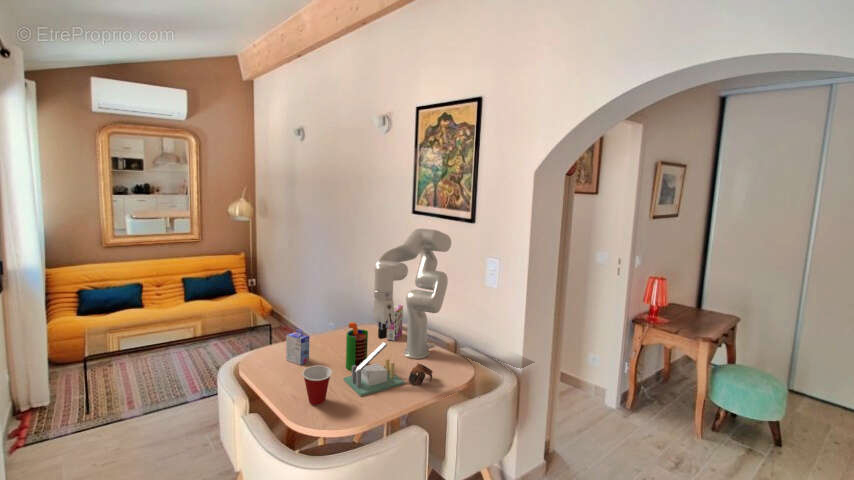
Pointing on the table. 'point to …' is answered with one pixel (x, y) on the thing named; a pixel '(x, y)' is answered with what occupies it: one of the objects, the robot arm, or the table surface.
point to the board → (373, 378)
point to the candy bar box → (396, 324)
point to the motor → (356, 346)
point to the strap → (371, 356)
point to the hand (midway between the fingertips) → (382, 337)
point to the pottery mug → (419, 374)
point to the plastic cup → (317, 383)
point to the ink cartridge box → (297, 347)
